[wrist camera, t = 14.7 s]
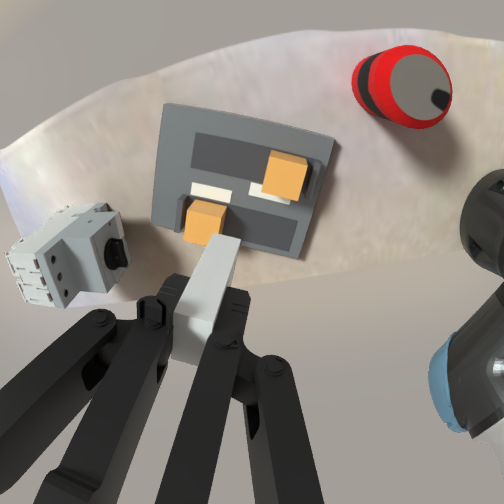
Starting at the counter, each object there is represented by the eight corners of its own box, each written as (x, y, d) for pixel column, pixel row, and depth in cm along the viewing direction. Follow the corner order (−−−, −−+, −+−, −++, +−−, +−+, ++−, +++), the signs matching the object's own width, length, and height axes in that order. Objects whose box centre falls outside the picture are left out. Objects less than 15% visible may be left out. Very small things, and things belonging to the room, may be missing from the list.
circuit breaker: (152, 248, 45) (104, 314, 32) (77, 247, 46) (23, 302, 33) (142, 200, 41) (83, 255, 28) (66, 205, 43) (3, 252, 30)
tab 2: (306, 158, 34) (307, 166, 31) (297, 190, 36) (297, 201, 33) (271, 149, 34) (269, 156, 31) (263, 182, 36) (261, 192, 33)
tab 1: (227, 206, 38) (221, 217, 35) (221, 234, 40) (215, 248, 37) (195, 199, 38) (187, 209, 35) (191, 227, 40) (183, 240, 37)
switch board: (333, 137, 34) (337, 142, 31) (297, 253, 42) (297, 267, 39) (168, 103, 34) (157, 105, 31) (154, 219, 42) (144, 230, 39)
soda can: (398, 127, 32) (441, 146, 22) (341, 100, 32) (365, 106, 22) (419, 73, 29) (469, 72, 18) (362, 44, 28) (394, 27, 18)
